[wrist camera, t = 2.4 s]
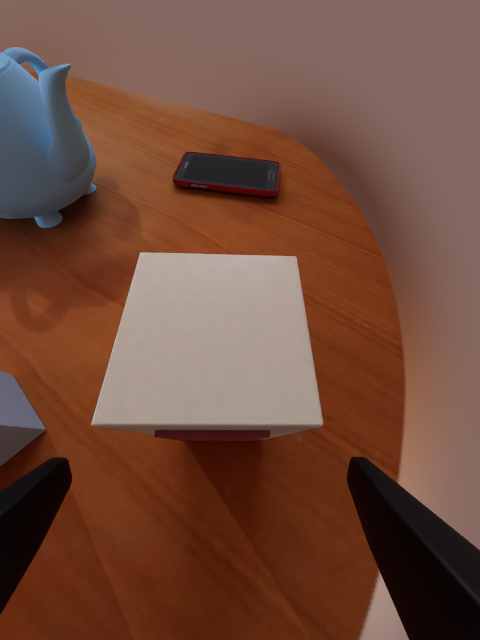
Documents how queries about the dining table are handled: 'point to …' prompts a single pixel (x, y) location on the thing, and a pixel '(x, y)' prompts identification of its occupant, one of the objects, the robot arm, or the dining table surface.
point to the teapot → (39, 142)
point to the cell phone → (228, 174)
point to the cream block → (212, 351)
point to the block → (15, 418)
